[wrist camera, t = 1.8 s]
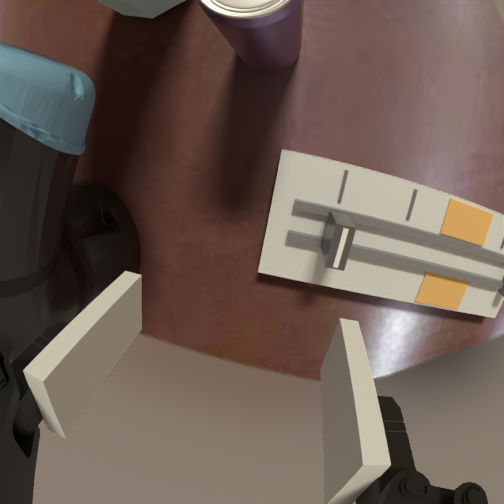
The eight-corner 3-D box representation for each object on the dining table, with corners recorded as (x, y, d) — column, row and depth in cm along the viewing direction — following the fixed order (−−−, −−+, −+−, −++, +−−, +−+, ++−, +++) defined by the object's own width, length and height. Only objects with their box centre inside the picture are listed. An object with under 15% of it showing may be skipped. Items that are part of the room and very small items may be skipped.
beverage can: (286, 83, 27) (279, 36, 13) (228, 62, 26) (172, 7, 12) (310, 32, 24) (320, -46, 10) (252, 12, 24) (218, -69, 10)
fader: (319, 243, 30) (324, 267, 24) (329, 207, 28) (336, 224, 23) (336, 247, 29) (344, 271, 24) (345, 211, 28) (356, 228, 23)
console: (260, 264, 33) (255, 281, 30) (282, 148, 29) (280, 150, 25) (488, 310, 32) (502, 326, 28) (521, 222, 27) (540, 232, 23)
